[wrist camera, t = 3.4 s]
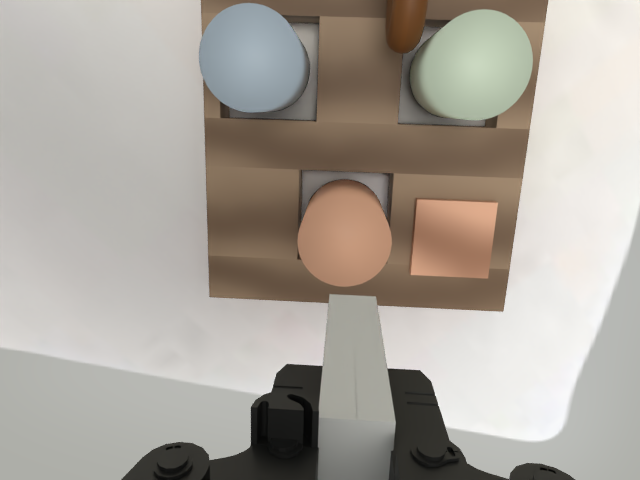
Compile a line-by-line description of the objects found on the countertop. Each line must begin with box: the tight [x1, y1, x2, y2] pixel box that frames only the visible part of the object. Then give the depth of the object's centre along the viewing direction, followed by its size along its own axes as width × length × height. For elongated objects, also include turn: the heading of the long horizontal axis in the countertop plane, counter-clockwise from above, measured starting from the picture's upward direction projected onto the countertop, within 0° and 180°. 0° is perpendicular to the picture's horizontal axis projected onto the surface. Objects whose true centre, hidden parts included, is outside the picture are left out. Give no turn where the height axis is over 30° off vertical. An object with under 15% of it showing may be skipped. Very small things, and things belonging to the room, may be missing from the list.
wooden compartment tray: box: [201, 0, 548, 312], centre depth 31 cm, size 20×20×3 cm
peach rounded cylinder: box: [297, 179, 392, 287], centre depth 29 cm, size 5×5×6 cm
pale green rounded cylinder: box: [410, 9, 533, 120], centre depth 26 cm, size 5×5×6 cm
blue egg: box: [199, 3, 310, 113], centre depth 26 cm, size 5×5×6 cm
